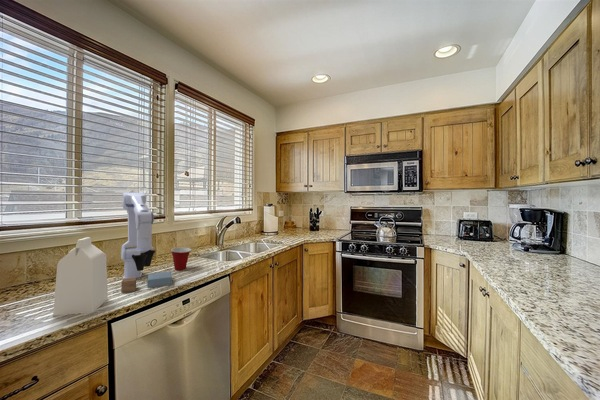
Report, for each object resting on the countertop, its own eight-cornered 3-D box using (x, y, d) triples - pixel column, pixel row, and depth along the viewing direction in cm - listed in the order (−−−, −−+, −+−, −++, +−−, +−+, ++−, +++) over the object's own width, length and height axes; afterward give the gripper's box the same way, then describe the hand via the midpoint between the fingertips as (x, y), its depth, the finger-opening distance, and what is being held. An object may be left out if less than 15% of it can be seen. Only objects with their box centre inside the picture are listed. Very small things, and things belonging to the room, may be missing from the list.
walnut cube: (123, 289, 112) (123, 278, 112) (136, 287, 114) (136, 276, 114) (121, 292, 107) (121, 281, 107) (134, 291, 110) (135, 280, 110)
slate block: (148, 281, 123) (148, 273, 123) (171, 279, 128) (171, 271, 127) (147, 288, 114) (147, 280, 114) (171, 285, 119) (171, 277, 119)
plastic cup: (182, 272, 137) (182, 251, 137) (165, 270, 140) (166, 249, 140) (194, 267, 148) (195, 247, 148) (179, 265, 150) (179, 246, 150)
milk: (92, 312, 89) (94, 241, 89) (53, 315, 86) (54, 241, 86) (107, 299, 100) (109, 235, 100) (73, 301, 97) (75, 236, 97)
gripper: (147, 240, 105) (147, 271, 105) (159, 236, 119) (159, 264, 119) (129, 240, 104) (128, 272, 103) (143, 236, 118) (143, 265, 117)
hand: (143, 268), depth 111 cm, fingers open, 7 cm apart
